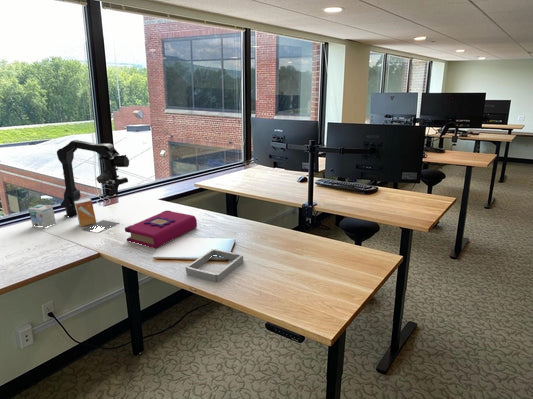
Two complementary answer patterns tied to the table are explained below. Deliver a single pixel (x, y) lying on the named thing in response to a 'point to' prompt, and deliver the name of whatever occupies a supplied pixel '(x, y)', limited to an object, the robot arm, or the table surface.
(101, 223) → the mat
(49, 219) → the light bulb box
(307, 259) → the table surface
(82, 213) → the small box
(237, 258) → the frame
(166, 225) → the book
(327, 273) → the table surface
